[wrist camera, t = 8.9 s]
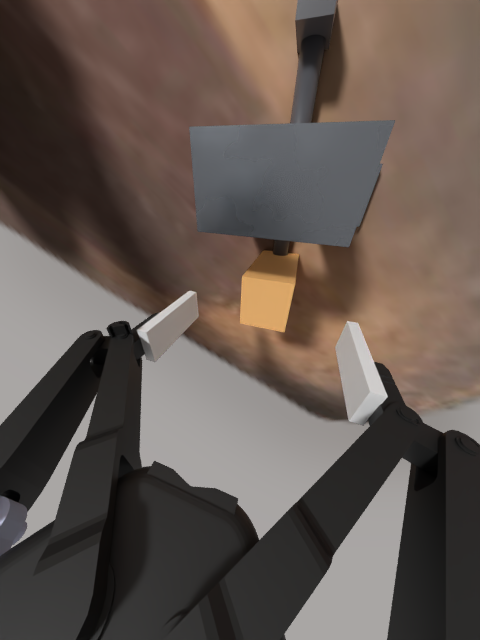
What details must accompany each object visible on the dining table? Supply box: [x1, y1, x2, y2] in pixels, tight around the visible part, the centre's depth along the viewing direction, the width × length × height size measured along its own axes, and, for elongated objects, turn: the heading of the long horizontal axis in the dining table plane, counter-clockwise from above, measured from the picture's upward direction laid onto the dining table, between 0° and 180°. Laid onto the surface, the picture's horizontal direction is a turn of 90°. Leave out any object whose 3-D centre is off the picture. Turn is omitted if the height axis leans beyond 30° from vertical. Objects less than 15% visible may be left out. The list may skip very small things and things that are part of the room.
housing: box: [189, 120, 395, 247], centre depth 15 cm, size 16×5×12 cm, turn 88°
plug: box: [240, 0, 338, 332], centre depth 16 cm, size 4×24×10 cm, turn 178°
